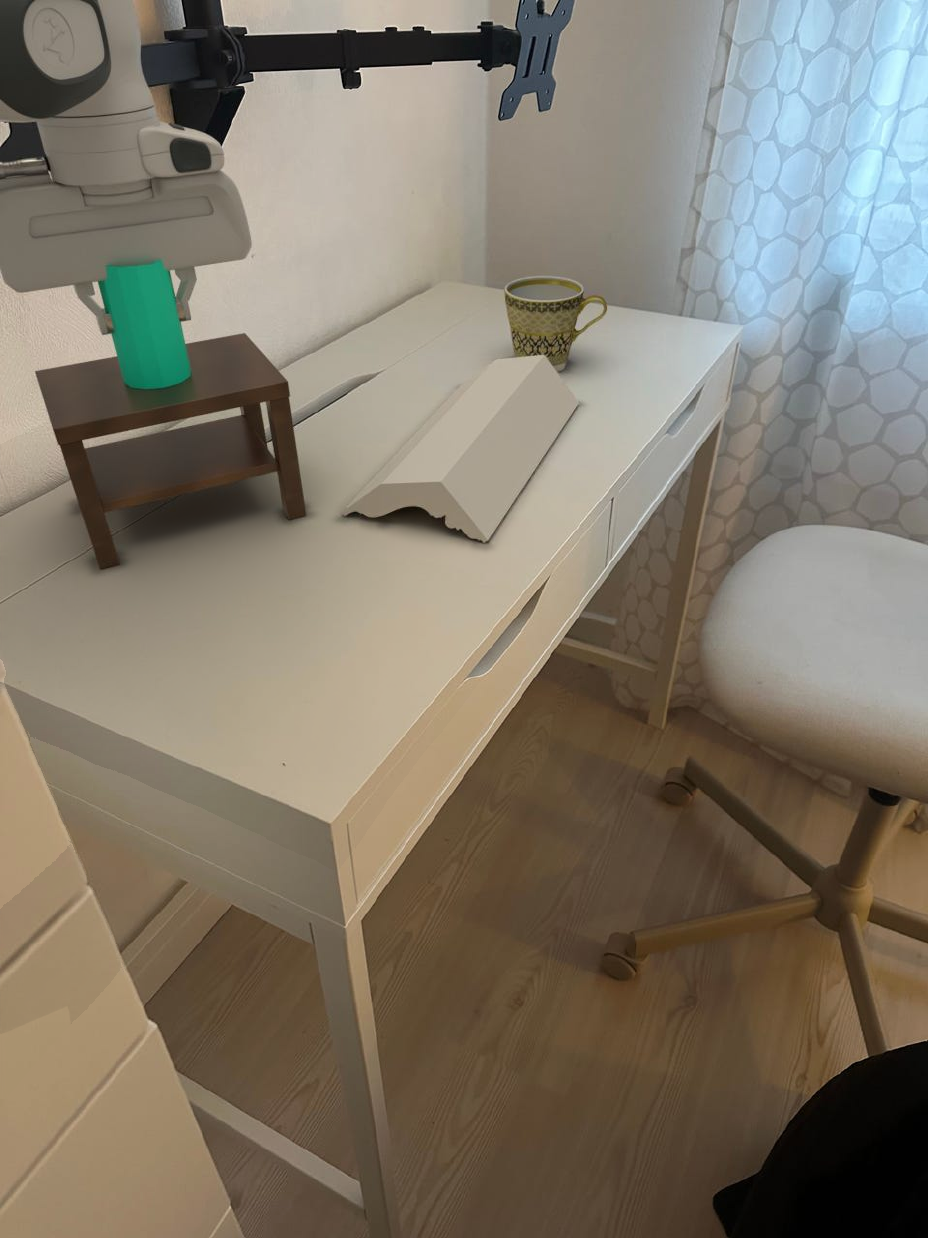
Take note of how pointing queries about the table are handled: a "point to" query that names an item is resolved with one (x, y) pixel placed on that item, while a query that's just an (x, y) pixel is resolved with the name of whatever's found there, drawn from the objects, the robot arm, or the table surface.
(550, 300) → the ceramic cup
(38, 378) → the stand
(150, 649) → the table surface
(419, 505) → the molding piece
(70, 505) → the table surface
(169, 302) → the candle
